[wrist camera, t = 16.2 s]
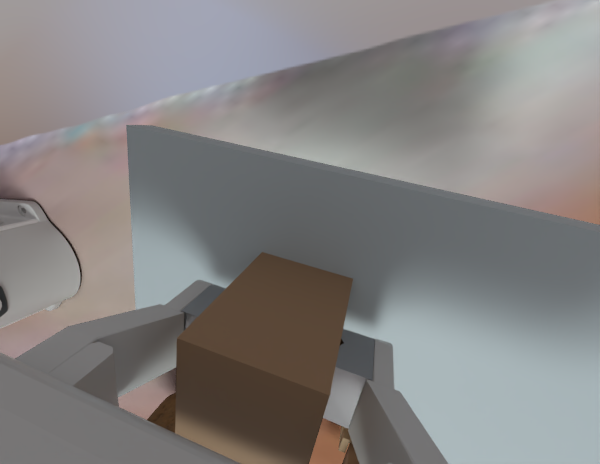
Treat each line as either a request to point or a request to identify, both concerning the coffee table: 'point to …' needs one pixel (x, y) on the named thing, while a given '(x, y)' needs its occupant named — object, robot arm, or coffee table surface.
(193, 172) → the lid
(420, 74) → the coffee table surface
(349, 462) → the bar
